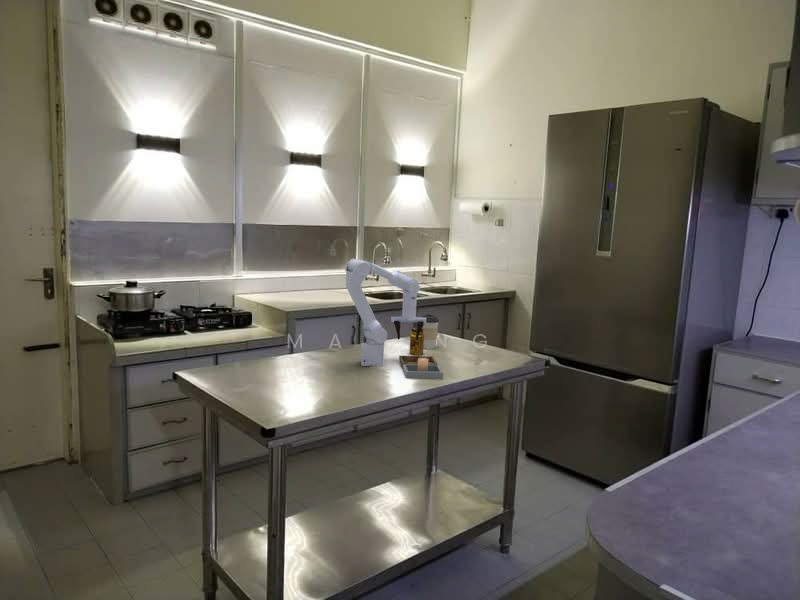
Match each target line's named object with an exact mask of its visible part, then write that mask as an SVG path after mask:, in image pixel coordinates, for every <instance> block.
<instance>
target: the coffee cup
mask: <svg viewBox="0 0 800 600" xmlns="http://www.w3.org/2000/svg"><path fill="white" fill-rule="evenodd" d="M421 317H422V318H426V323H423V324H424V326H423V327H422V329H423V335H424V347H423V349H424V348H427V350H432V349H433V350H434V349H436V344H437V338H438V330H439V321H440V319H439V318H437V316H436V315H433V314H425V315H422V316H421Z"/></svg>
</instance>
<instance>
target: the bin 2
mask: <svg viewBox="0 0 800 600" xmlns="http://www.w3.org/2000/svg"><path fill="white" fill-rule="evenodd" d="M417 366H418V364H403V369H402V372H403V375H404V377H405V379H419V380H443V379H444V371H443V369H441V367H440V365H439V364H438V365H428V372H417Z"/></svg>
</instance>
